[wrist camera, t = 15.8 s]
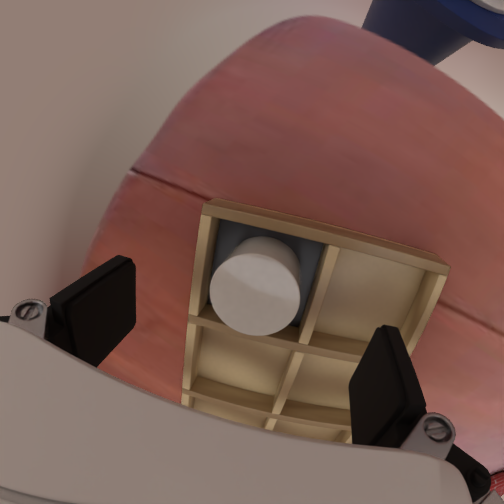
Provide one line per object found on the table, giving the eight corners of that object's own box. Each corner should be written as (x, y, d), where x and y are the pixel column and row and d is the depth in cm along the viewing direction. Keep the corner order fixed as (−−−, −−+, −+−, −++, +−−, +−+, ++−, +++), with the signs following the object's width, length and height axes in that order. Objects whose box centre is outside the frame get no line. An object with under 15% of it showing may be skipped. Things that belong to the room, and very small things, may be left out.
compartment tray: (215, 197, 17) (202, 202, 14) (436, 254, 15) (451, 266, 13) (187, 421, 23) (179, 437, 21) (329, 452, 22) (329, 470, 20)
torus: (484, 497, 24) (487, 510, 21) (427, 517, 27) (429, 531, 24) (523, 457, 20) (529, 471, 16) (462, 484, 22) (466, 500, 19)
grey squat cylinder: (232, 227, 16) (216, 243, 13) (310, 246, 16) (311, 266, 13) (220, 296, 18) (204, 323, 15) (290, 314, 17) (287, 345, 14)
